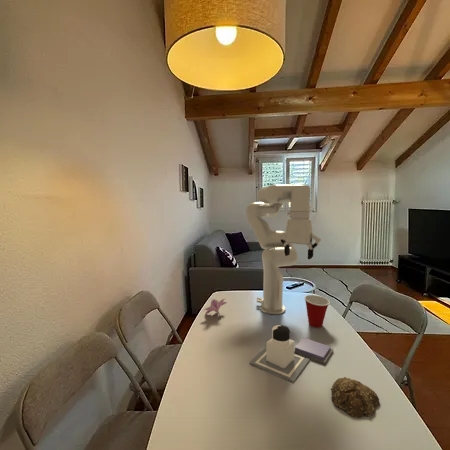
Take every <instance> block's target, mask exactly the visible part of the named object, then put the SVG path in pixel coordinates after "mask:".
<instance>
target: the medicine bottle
mask: <svg viewBox="0 0 450 450" xmlns="http://www.w3.org/2000/svg"><path fill="white" fill-rule="evenodd" d="M290 336H291V330H290V328H289V327H288V326H285V325H283V324H278V325H277V324H276V325H274V326H273V327H272V328H271V338H270V339H269V340H267V341H266V347H267V348H266V361H268V362H270V363H272V364H274V365H276V366H279V367H281V368H283V369H285V368H286V367H287V366H288V365H289V364H290V363H291V362H292V361H293V360H294V347H295V342H296V341H295V340H293V339H290V338H291V337H290Z"/></svg>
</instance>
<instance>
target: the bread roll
mask: <svg viewBox="0 0 450 450" xmlns="http://www.w3.org/2000/svg"><path fill="white" fill-rule="evenodd" d="M330 391H331V393H330V394H331V401H332V403H333V404H334V406H335V407H337V408H340V409H343V411H345V412H346V413H347V414H348V415H349V416H351V417H353V418H363V417H364V416H366V417H371V416H373V415H374V414H375V413H376V410H377V409H376V408H377V407H379V406H380V398H379V395H378V394H377V393H376V392H375V390H373V389H372V388H370V387H369V386H367V385H365V384H364V383H362V382H361V381H358V380H357V379H351V378H350V377H346V376H344V377H339V378H337V379H336V380H335V381H334V382H333V384H332V387H331V388H330Z"/></svg>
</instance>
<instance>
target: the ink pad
mask: <svg viewBox="0 0 450 450" xmlns="http://www.w3.org/2000/svg"><path fill="white" fill-rule="evenodd" d="M333 352H334V348H332V347H331V346H330V345H326V344H323V343H322V342H318V341H315V340H313V339H308V338H305V337H303V338H301V339H300V340H299V342H298V343H297V344H296V345H294V354H297V355H299V356H303V357H306V358H308V359H310V360H311V361H314V362H316V361H317V363H319V364H323V365H326V363H327V362H328V360H329V359H330V357H331V355H332V354H333Z"/></svg>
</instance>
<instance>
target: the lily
mask: <svg viewBox="0 0 450 450" xmlns="http://www.w3.org/2000/svg"><path fill="white" fill-rule="evenodd" d="M225 299H226V298H222V299H221V300H219V301H218V299H211V301H210V306H209V307H208V306H207V307H206V308H204V311H206V312H205V316H207V315H208V314H209V313H211V312H213V311H214V312H215V313H217V314H218V316H219V318H220V320H222V318H221V314H220V311H219V310H220V308H221V307H222V306H224V305H226V304H228V302H227V301H225Z"/></svg>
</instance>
